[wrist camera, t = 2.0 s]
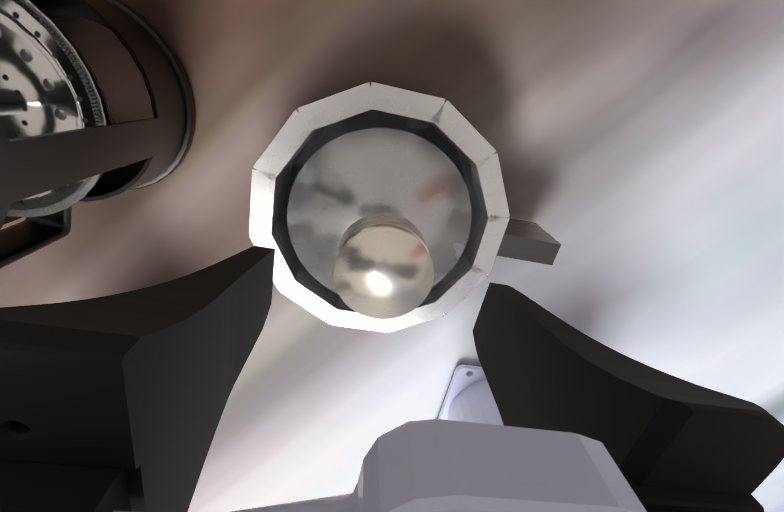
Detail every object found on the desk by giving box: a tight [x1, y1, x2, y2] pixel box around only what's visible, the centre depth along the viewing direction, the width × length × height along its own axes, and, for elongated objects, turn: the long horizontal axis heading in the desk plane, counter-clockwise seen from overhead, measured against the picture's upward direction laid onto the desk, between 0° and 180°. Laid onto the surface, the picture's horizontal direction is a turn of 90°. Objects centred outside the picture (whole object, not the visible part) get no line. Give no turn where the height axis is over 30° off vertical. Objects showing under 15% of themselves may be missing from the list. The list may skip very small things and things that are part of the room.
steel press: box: [249, 82, 561, 333], centre depth 20 cm, size 15×12×5 cm
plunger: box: [287, 127, 472, 319], centre depth 15 cm, size 9×9×6 cm
